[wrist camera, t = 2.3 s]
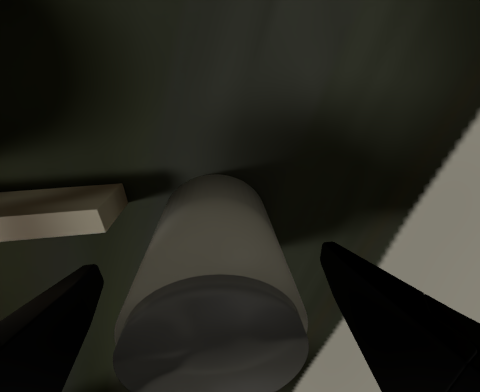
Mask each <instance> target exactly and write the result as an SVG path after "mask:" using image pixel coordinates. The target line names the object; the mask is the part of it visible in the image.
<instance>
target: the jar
mask: <svg viewBox="0 0 480 392" xmlns="http://www.w3.org/2000/svg"><path fill="white" fill-rule="evenodd" d="M307 329H308V318H307V313H306V310H305V307H304V305H303V302H302V300H301V297H300V295H299V292H298V290H297V287H296V285H295V282H294V280H293V277H292V275H291V272H290V270H289V267H288V265H287V262H286V260H285V257H284V255H283V252H282V250H281V247H280V245H279V242H278V239H277V237H276V234H275V232H274V229H273V227H272V224H271V222H270V219H269V217H268V214H267V212H266V209H265V207H264V204H263V202H262V200H261V198H260V196H259V195H258V194H257V192H256V191H255V190H254V189H253V188H252V187H251V186H249V185H248V184H247V183H245V182H243V181H241V180H240V179H237V178H234V177H231V176H227V175H220V174H210V175H203V176H199V177H196V178H194V179H191V180H189V181H187V182H185V183H184V184H182V185H181V186H180V187H178V188H177V189H176V190H175V191H174V192H173V194H172V195H171V197H170V198H169V200H168V202H167V204H166V206H165V209H164V211H163V213H162V216H161V218H160V220H159V223H158V225H157V227H156V230H155V232H154V234H153V237H152V239H151V241H150V244H149V246H148V248H147V251H146V253H145V255H144V258H143V260H142V262H141V265H140V267H139V269H138V272H137V274H136V276H135V279H134V281H133V283H132V286H131V288H130V290H129V293H128V295H127V297H126V300H125V302H124V304H123V307H122V309H121V311H120V314H119V316H118V319H117V322H116V325H115V332H114V338H115V344H116V348H115V351H114V354H113V366H114V370H115V373H116V375H117V377H118V379H119V380H120V382H121V383H122V384H123V385H124V386H125V387H126V388H127V389H128V390H129V391H130V392H275V391H277V390H279V389H280V388H282V387H283V386H285V385H286V384H287V383H289V382H290V381H291V380H292V379H293V378H294V377H295V376H296V375H297V374H298V373H299V371H300V370H301V368H302V367H303V365H304V363H305V361H306V359H307V356H308V352H309V343H308V337H307V334H306V333H307Z"/></svg>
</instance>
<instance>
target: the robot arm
mask: <svg viewBox="0 0 480 392" xmlns="http://www.w3.org/2000/svg"><path fill="white" fill-rule="evenodd" d="M320 261H321V265H322V267H323V270H324V273H325V275H326V278H327V281H328V283H329V286H330V288H331V291H332V294H333V296H334V298H335V300H336V303H337V305H338V307H339V309H340V311H341V312H342V314H343V316H344V318H345V320H346V322H347V324H348V326H349V328H350V330H351V332H352V334H353V336H354V338H355V340H356V342H357V344H358V346H359V348H360V350H361V352H362V354H363V356H364V358H365V360H366V362H367V364H368V365H369V368H370V370H371V372H372V374H373V375H374V377H375V379H376V381H377V383H378V385H379V387H380V389H381V391H382V392H480V323H478V322H476V321H474V320H472V319H470V318H468V317H466V316H464V315H462V314H461V313H459V312H457V311H455V310H453V309H451V308H449V307H448V306H446V305H444V304H442V303H440V302H438V301H437V300H435V299H433V298H432V297H430V296H428V295H426V294H425V295H424V293H423V292H421V291H419V290H417V289H416V288H414V287H412V286H410V285H408V284H407V283H405V282H403V281H402V280H399V279H398V278H396V277H395V276H393V275H391V274H389V273H387V272H386V271H384V270H382V269H381V268H379V267H377V266H375V265H374V264H372V263H370V262H368V261H367V260H365V259H363V258H361V257H359V256H358V255H356V254H354V253H352V252H351V251H349V250H347V249H345V248H344V247H342V246H340V245H338V244H337V243H335V242H324V243H323V244H322V249H321V256H320ZM103 284H104V281H103V277H102V275H101V273H100V270H99V268H98V266H97V265H95V264H91V265H84V266H82V267H81V268H79V269H78V270H76V271H75V272H73V273H72V274H70V275H69V276H67V277H66V278H64V279H63V280H61V281H60V282H58V283H57V284H55V285H54V286H52V287H51V288H49V289H48V290H46V291H45V292H43V293H42V294H40V295H39V296H37V297H36V298H34V299H33V300H31V301H30V302H28V303H27V304H25V305H24V306H22V307H21V308H19V309H18V310H16V311H15V312H13V313H12V314H10V315H9V316H7V317H6V318H4V319H3V320H1V321H0V392H62V390H63V387H64V385H65V383H66V380H67V378H68V376H69V374H70V371H71V369H72V367H73V364H74V362H75V360H76V357H77V355H78V353H79V351H80V348H81V346H82V344H83V341H84V339H85V337H86V335H87V332H88V330H89V327H90V325H91V322H92V319H93V316H94V313H95V310H96V307H97V304H98V301H99V298H100V294H101V291H102V288H103Z"/></svg>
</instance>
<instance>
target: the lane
mask: <svg viewBox="0 0 480 392" xmlns="http://www.w3.org/2000/svg"><path fill="white" fill-rule="evenodd" d="M127 204H128V200H127V197H126V194H125V190H124V187H123V184H122V183H120V184H106V185H93V186H79V187H65V188H52V189H38V190H24V191H11V192H0V242H2V241H14V240H25V239H37V238H48V237H60V236H71V235H83V234H94V233H106V231H107V230H108V229H109V227H110V226H111V225H112V224H113V222H114V221H115V220H116V218H117V217H118V216H119V214H120V213H121V212H122V210H123V209H124V208H125V206H126V205H127Z"/></svg>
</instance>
